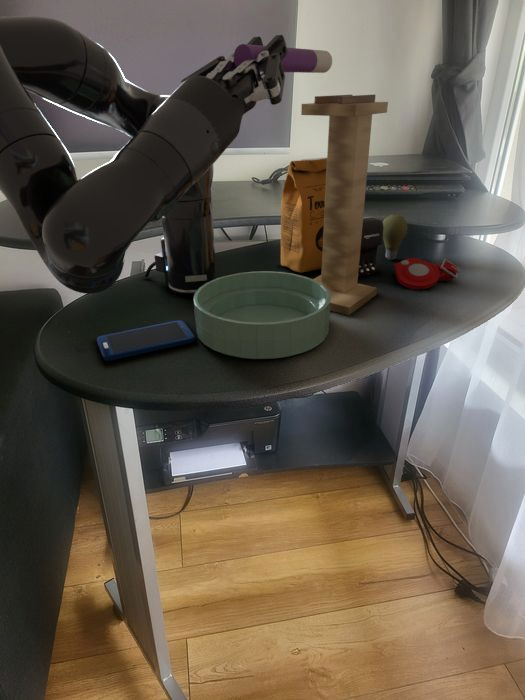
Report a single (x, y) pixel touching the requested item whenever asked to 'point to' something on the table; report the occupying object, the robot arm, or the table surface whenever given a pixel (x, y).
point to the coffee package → (303, 215)
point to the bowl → (262, 314)
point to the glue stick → (289, 58)
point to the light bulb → (393, 234)
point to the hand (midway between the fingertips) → (270, 44)
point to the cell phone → (144, 340)
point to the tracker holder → (423, 273)
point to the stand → (345, 194)
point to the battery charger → (370, 245)
